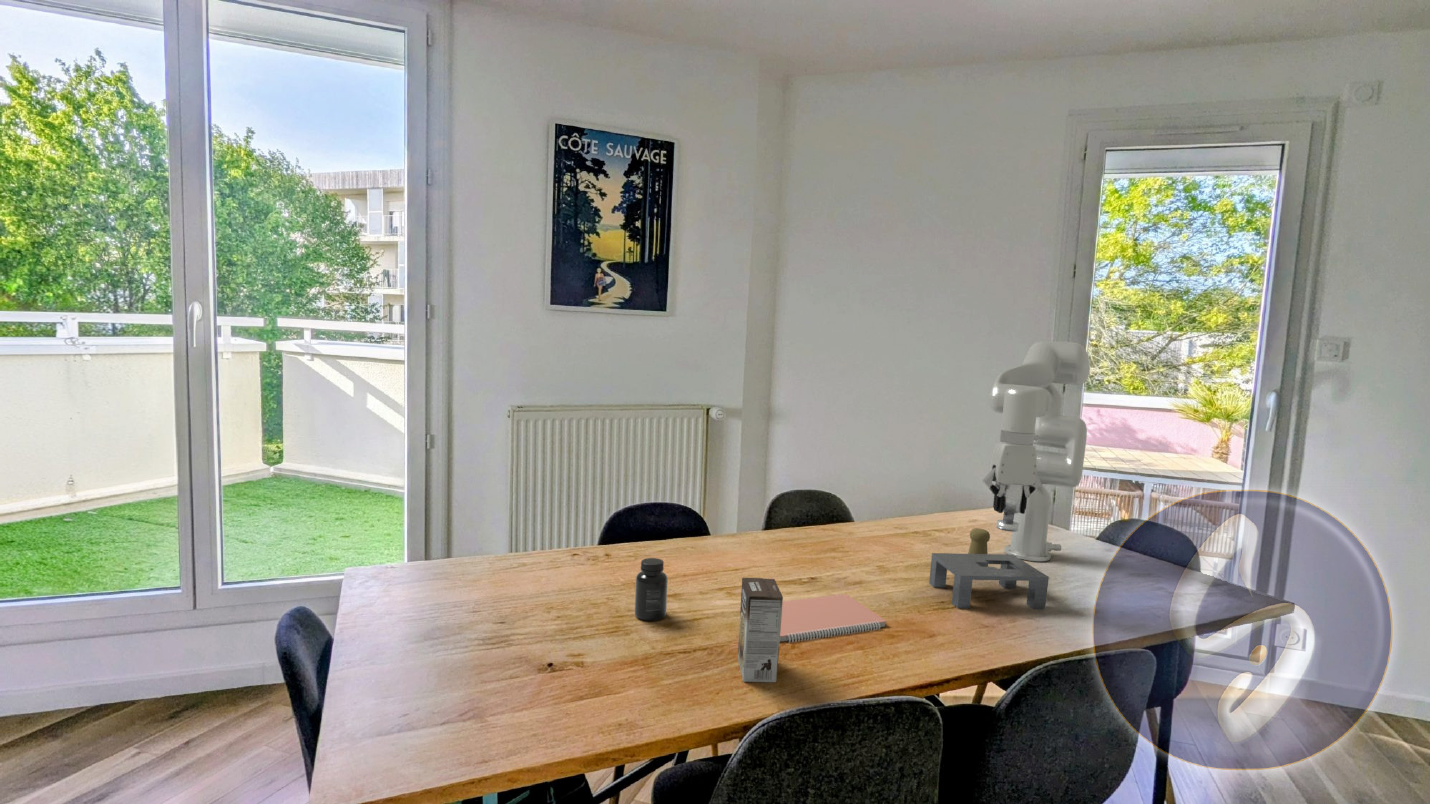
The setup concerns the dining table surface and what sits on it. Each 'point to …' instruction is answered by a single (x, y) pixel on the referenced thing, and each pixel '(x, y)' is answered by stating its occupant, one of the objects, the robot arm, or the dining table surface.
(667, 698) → the dining table surface
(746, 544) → the dining table surface
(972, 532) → the cork
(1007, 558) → the grey windowed bracket
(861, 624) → the notebook
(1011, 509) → the peg
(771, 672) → the coffee box
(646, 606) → the supplement bottle
